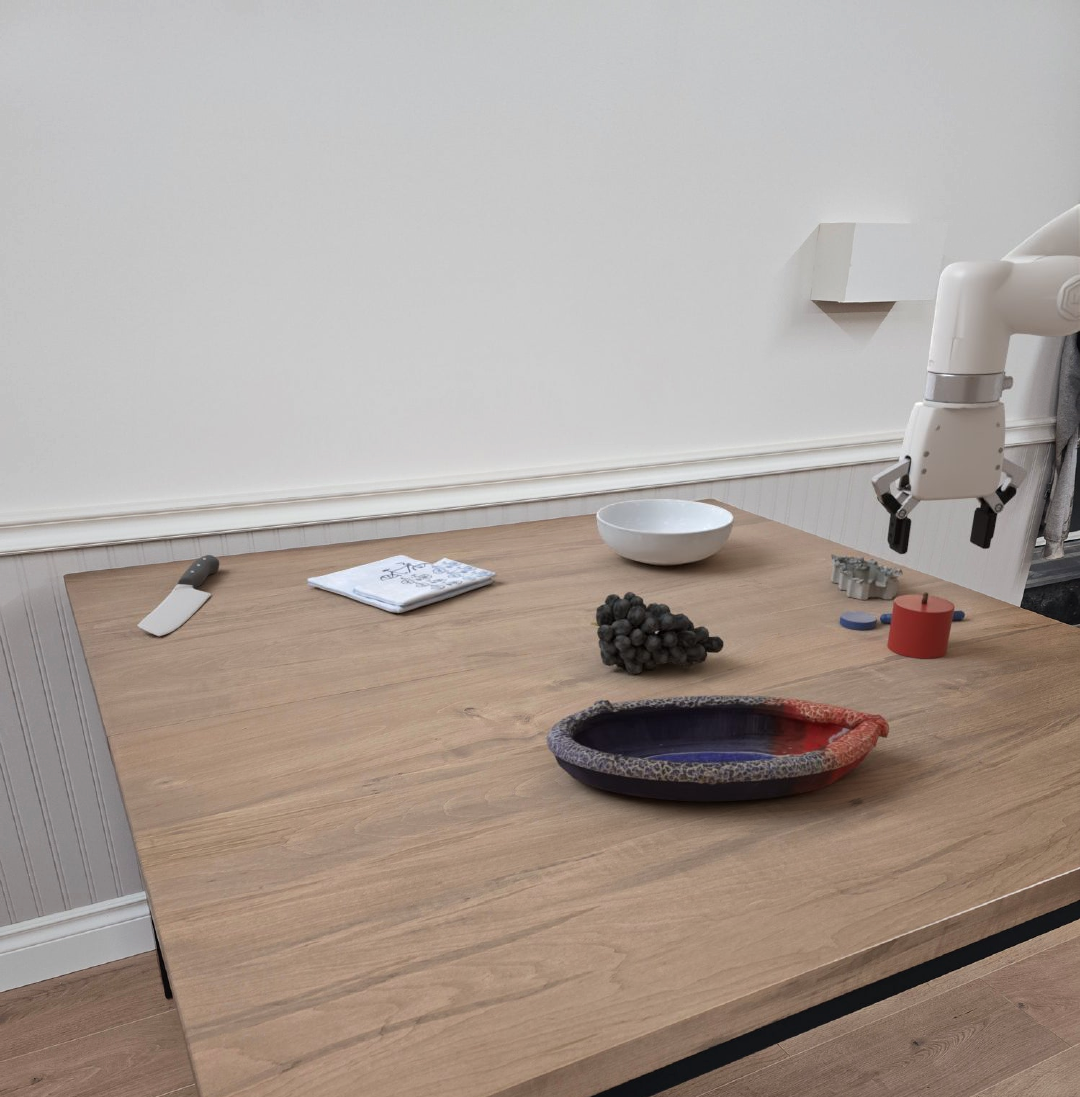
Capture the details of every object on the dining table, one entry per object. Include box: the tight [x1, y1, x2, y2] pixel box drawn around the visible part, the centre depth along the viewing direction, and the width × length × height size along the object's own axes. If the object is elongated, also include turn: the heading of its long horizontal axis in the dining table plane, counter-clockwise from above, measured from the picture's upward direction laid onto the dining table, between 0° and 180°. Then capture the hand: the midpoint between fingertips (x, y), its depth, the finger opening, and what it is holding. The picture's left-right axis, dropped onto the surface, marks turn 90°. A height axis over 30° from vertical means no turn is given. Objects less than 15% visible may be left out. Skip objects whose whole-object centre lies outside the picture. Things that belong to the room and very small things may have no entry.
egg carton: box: [830, 553, 904, 601], centre depth 135 cm, size 11×8×4 cm
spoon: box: [839, 609, 966, 631], centre depth 122 cm, size 16×4×1 cm, turn 96°
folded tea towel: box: [307, 554, 498, 614], centre depth 138 cm, size 19×20×2 cm
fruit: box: [590, 591, 725, 675], centre depth 108 cm, size 9×8×15 cm
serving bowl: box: [595, 498, 735, 567], centre depth 149 cm, size 21×21×7 cm
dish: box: [546, 694, 890, 802], centre depth 86 cm, size 16×31×5 cm, turn 92°
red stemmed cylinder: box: [886, 592, 956, 659], centre depth 113 cm, size 7×7×7 cm
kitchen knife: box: [137, 554, 220, 637], centre depth 132 cm, size 29×3×5 cm
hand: (938, 548), depth 109 cm, fingers open, 9 cm apart
